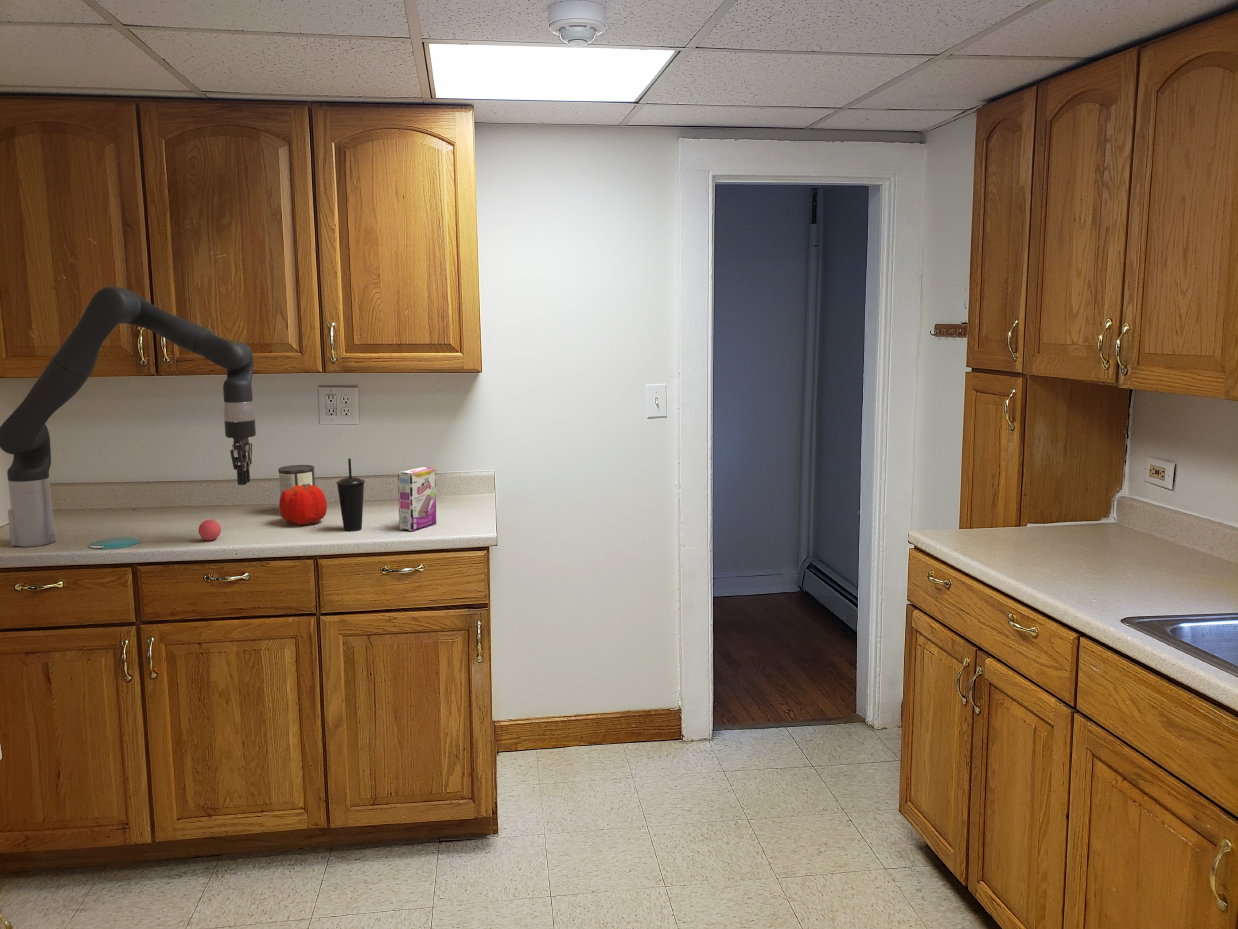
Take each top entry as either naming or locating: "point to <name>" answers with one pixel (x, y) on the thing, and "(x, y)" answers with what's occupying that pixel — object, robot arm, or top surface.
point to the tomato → (303, 505)
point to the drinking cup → (351, 501)
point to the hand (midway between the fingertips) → (243, 483)
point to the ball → (209, 530)
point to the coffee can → (296, 476)
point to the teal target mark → (115, 543)
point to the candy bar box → (417, 498)
